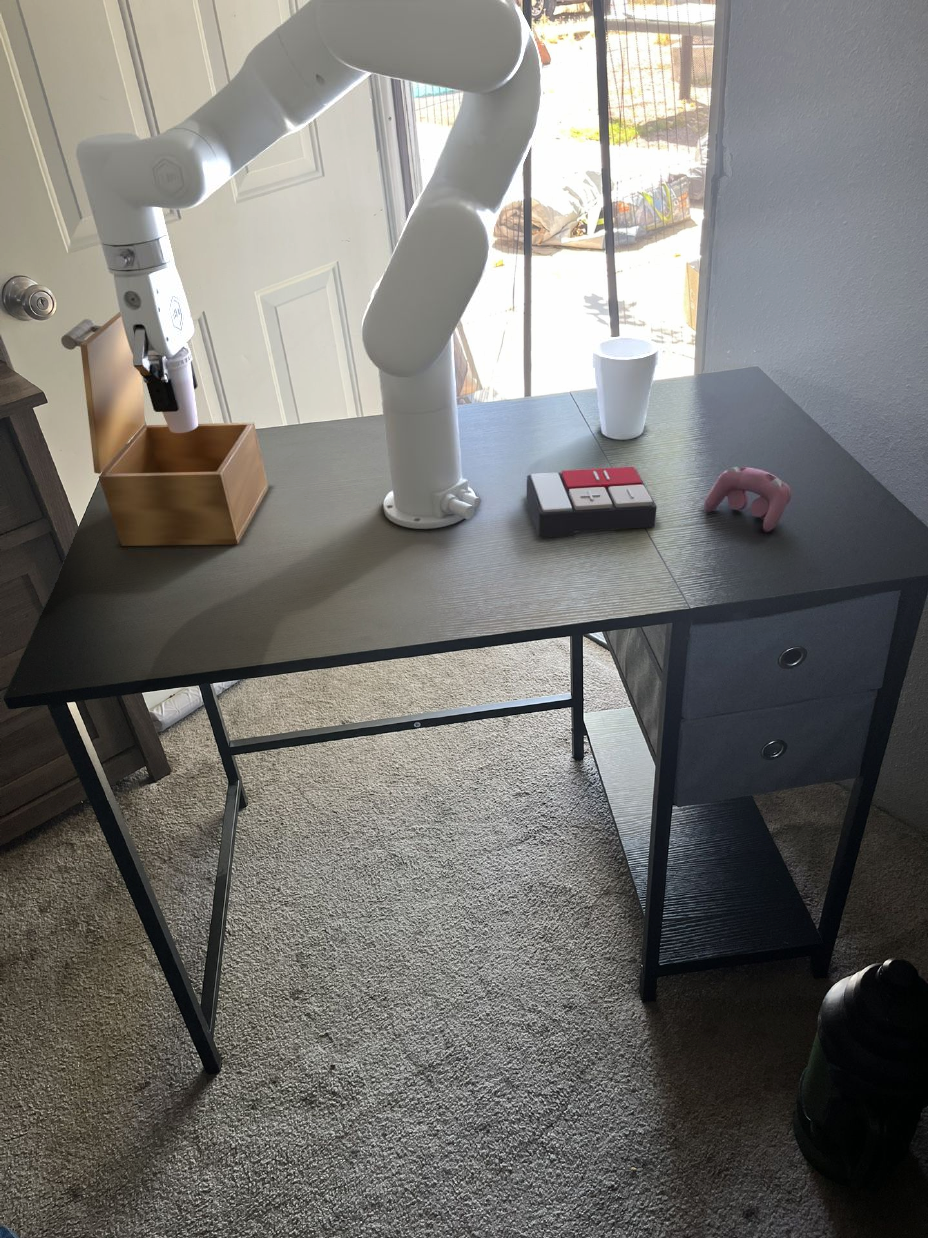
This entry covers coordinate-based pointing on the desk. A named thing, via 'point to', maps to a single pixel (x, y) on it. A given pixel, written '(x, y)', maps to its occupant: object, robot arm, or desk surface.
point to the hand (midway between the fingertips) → (176, 398)
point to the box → (186, 485)
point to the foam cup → (624, 383)
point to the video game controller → (755, 481)
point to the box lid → (108, 387)
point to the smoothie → (181, 391)
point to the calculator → (589, 501)
